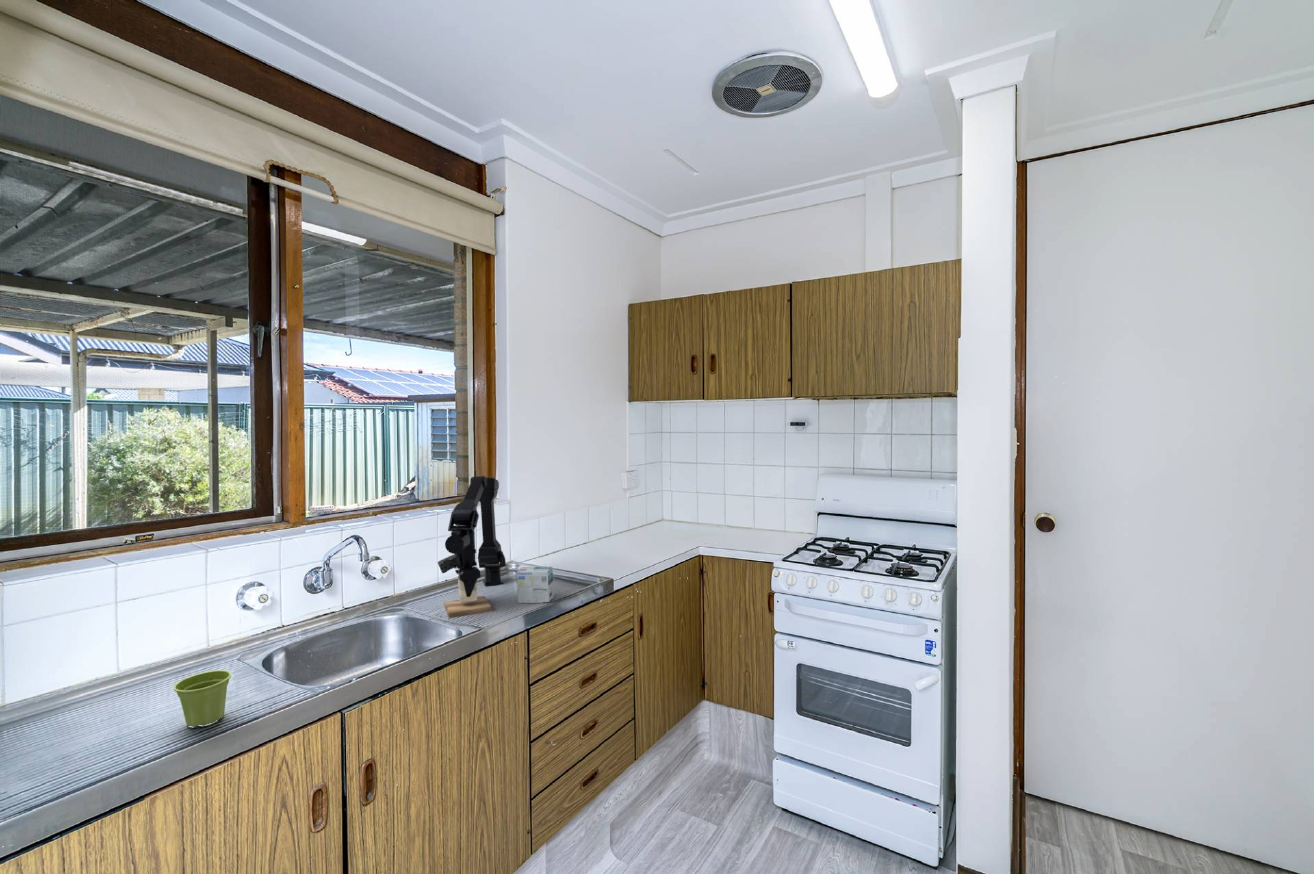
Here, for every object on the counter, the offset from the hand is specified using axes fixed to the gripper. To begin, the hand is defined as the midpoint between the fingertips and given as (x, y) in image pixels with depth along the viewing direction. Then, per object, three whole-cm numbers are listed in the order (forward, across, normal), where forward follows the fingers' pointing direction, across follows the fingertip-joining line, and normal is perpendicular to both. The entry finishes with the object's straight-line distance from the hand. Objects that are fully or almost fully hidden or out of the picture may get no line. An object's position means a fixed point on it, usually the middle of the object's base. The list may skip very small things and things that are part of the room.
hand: (467, 594), depth 189 cm
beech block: (+2, 0, 0) cm, 2 cm away
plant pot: (+5, +49, -58) cm, 76 cm away
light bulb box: (+5, +2, +22) cm, 22 cm away
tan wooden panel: (+5, 0, 0) cm, 5 cm away
